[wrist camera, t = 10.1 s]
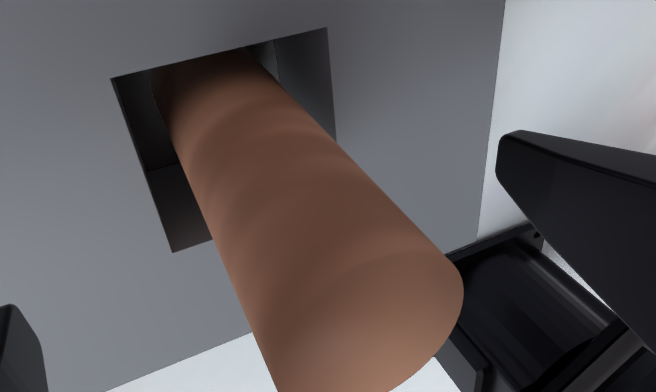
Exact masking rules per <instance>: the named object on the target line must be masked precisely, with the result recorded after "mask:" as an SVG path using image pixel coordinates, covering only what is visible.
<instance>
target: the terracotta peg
mask: <svg viewBox="0 0 656 392" xmlns="http://www.w3.org/2000/svg"><path fill="white" fill-rule="evenodd" d="M150 85H151V92H152V96H153V99H154V101H155V104H156V106H157V108H158V111H159V113H160V115H161V118H162V120H163V122H164V125H165V127H166V130H167V132H168V134H169V137H170V139H171V141H172V144H173V146H174V148H175V151H176V153H177V155H178V158H179V160H180V163H181V165H182V167H183V170H184V172H185V174H186V177H187V179H188V181H189V184H190V186H191V188H192V191H193V193H194V195H195V198H196V200H197V203H198V205H199V207H200V210H201V212H202V214H203V217H204V219H205V221H206V224H207V226H208V228H209V231H210V233H211V236H212V238H213V240H214V243H215V245H216V247H217V250H218V252H219V254H220V257H221V259H222V261H223V264H224V266H225V269H226V271H227V273H228V276H229V278H230V280H231V283H232V285H233V287H234V290H235V292H236V294H237V297H238V299H239V302H240V304H241V306H242V309H243V311H244V313H245V316H246V318H247V320H248V323H249V325H250V327H251V330H252V332H253V335H254V337H255V339H256V342H257V344H258V346H259V349H260V351H261V353H262V356H263V358H264V360H265V363H266V365H267V368H268V370H269V372H270V375H271V377H272V379H273V382H274V384H275V386H276V389H277V391H278V392H389V391H391V390H392V389H394V388H395V387H397V386H399V385H400V384H402V383H403V382H404V381H406V380H407V379H408V378H410V377H411V376H412V375H414V374H415V373H416V372H417V371H418V370H420V369H421V368H422V367H423V366H424V365H425V364H426V363H427V362H428V361H429V360H430V359H431V358H432V357H433V356H434V355H435V354H436V352H437V351H438V350H439V349H440V347H441V346H442V345H443V344H444V342H445V341H446V339H447V338H448V336H449V335H450V333H451V331H452V330H453V328H454V326H455V324H456V322H457V319H458V317H459V315H460V311H461V308H462V303H463V297H464V287H463V282H462V278H461V276H460V273H459V271H458V270H457V268H456V267H455V266H454V264H453V263H452V262H451V261H450V260H449V259H448V258H447V257H446V256H445V255H444V254H443V253H442V252H441V251H440V250H439V249H438V248H437V247H436V246H435V245H434V244H433V243H432V242H431V240H430V239H429V238H428V237H427V236H426V235H425V234H424V233H423V232H422V231H421V230H420V229H419V228H418V227H417V226H416V225H415V224H414V223H413V222H412V221H411V220H410V219H409V218H408V217H407V216H406V215H405V213H404V212H403V211H402V210H401V209H400V208H399V207H398V206H397V205H396V204H395V203H394V202H393V201H392V200H391V199H390V198H389V197H388V196H387V195H386V194H385V193H384V192H383V191H382V190H381V189H380V187H379V186H378V185H377V184H376V183H375V182H374V181H373V180H372V179H371V178H370V177H369V176H368V175H367V174H366V173H365V172H364V171H363V170H362V169H361V168H360V167H359V166H358V165H357V164H356V163H355V162H354V160H353V159H352V158H351V157H350V156H349V155H348V154H347V153H346V152H345V151H344V150H343V149H342V148H341V147H340V146H339V145H338V144H337V143H336V142H335V141H334V140H333V139H332V138H331V137H330V136H329V134H328V133H327V132H326V131H325V130H324V129H323V128H322V127H321V126H320V125H319V124H318V123H317V122H316V121H315V120H314V119H313V118H312V117H311V116H310V115H309V114H308V113H307V112H306V111H305V110H304V108H303V107H302V106H301V105H300V104H299V103H298V102H297V101H296V100H295V99H294V98H293V97H292V96H291V95H290V94H289V93H288V92H287V91H286V90H285V89H284V88H283V87H282V86H281V85H280V84H279V83H278V81H277V80H276V79H275V78H274V77H273V76H272V75H271V74H270V73H269V72H268V71H267V70H266V69H265V68H264V67H263V66H262V65H261V64H260V63H259V62H258V61H257V60H256V59H255V58H254V57H253V55H252V54H251V53H250V52H249V51H248V50H247V49H246V48H245V47H244V46H243V47H239V48H235V49H231V50H227V51H222V52H218V53H214V54H210V55H206V56H201V57H197V58H193V59H189V60H184V61H180V62H176V63H172V64H168V65H163V66H159V67H155V68H152V72H151V84H150Z"/></svg>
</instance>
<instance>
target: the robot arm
mask: <svg viewBox="0 0 656 392" xmlns="http://www.w3.org/2000/svg"><path fill="white" fill-rule="evenodd" d="M495 173H496V177H497V179H498V181H499V182H500V184H501V185H502V186H503V188H504V189H505V190H506V191H507V193H508V194H509V195H510V197H511V198H512V199H513V200H514V202H515V203H516V204H517V205H518V207H519V208H520V209H521V211H522V212H523V213H524V214H525V216H526V217H527V218H528V220H529V221H530V222H531V223H529V224H527V225H524V226H522V227H519V228H517V229H514V230H512V231H509V232H507V233H505V234H502V235H500V236H497V237H495V238H492V239H490V240H487V241H485V242H482V243H480V244H478V245H475V246H473V247H470V248H468V249H465V250H463V251H460V252H458V253H455V254H453V255H451V256H448V257H447V258H448V259H449V260H450V261H451V262H452V263H453V264H454V266H455V267H456V268H457V270H458V271H459V273H460V276H461V278H462V282H463V287H464V297H463V303H462V308H461V311H460V315H459V317H458V319H457V322H456V324H455V326H454V328H453V330H452V331H451V333H450V335H449V336H448V338H447V339H446V341H445V342H444V344H443V345H442V346H441V347H440V349H439V350H438V351H437V352H436V354H435V355H434V356H433V357H435V358H436V359H437V360H438V362H439V363H440V364H441V366H442V367H443V368H444V370H445V371H446V372H447V374H448V375H449V376H450V378H451V379H452V380H453V382H454V383H455V384H456V386H457V387H458V388H459V390H460V391H461V392H656V155H651V154H646V153H641V152H636V151H630V150H625V149H620V148H615V147H609V146H604V145H599V144H594V143H588V142H583V141H578V140H573V139H567V138H562V137H557V136H552V135H546V134H541V133H536V132H531V131H525V130H517V131H514V132H511V133H508V134H505V135H503V136H502V137H501V139H500V140H499V145H498V152H497V160H496V167H495ZM544 239H545V240H546V241H547V242H548V243H549V244H550V245H551V247H552V248H553V249H554V250H555V251H556V252H557V253H558V254H559V255H560V256H561V257H562V258H563V259H564V260H565V261H566V262H567V263H568V264H569V265H570V266H571V267H572V268H573V269H574V271H575V272H576V273H577V274H578V275H579V276H580V277H581V278H582V279H583V280H584V281H585V282H586V283H587V284H588V285H589V286H590V287H591V288H592V289H593V290H594V291H595V292H596V294H597V295H598V296H599V297H600V298H601V299H602V300H603V301H604V302H605V303H606V304H607V305H608V306H609V307H610V308H611V309H612V310H613V311H614V312H615V313H616V314H615V313H614V312H613V311H612V310H611V309H609V308H608V307H607V306H606V305H605V304H603V303H602V302H601V301H600V300H599V299H597V298H596V297H595V296H594V295H593V294H591V293H590V292H589V291H588V290H586V289H585V288H584V287H583V286H582V285H580V284H579V283H578V282H577V281H576V280H574V279H573V278H572V277H571V276H570V275H568V274H567V273H566V272H565V271H564V270H562V269H561V268H560V267H559V266H558V265H556V264H555V263H554V262H553V261H552V260H550V259H549V258H548V257H547V256H546V255H544V254H543V253H542V252H541V251H542V246H543V242H544ZM0 392H49V390H48V383H47V377H46V371H45V364H44V358H43V352H42V347H41V344H40V341H39V339H38V337H37V335H36V334H35V332H34V331H33V329H32V328H31V326H30V325H29V323H28V322H27V320H26V319H25V317H24V316H23V314H22V312H21V311H20V309H19V308H18V307H17V306H16V305H14V304H6V305H3V306H0Z"/></svg>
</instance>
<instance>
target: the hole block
mask: <svg viewBox="0 0 656 392" xmlns="http://www.w3.org/2000/svg"><path fill="white" fill-rule="evenodd" d="M505 1H506V0H0V306H3V305H6V304H14V305H16V306H17V307H18V308H19V309H20V311H21V312H22V314H23V316H24V317H25V319H26V320H27V322H28V323H29V325H30V326H31V328H32V329H33V331H34V332H35V334H36V335H37V337H38V339H39V341H40V344H41V347H42V352H43V358H44V364H45V371H46V377H47V383H48V390H49V392H105V391H108V390H110V389H113V388H115V387H118V386H120V385H123V384H125V383H128V382H130V381H133V380H135V379H138V378H140V377H142V376H145V375H147V374H150V373H152V372H155V371H157V370H160V369H162V368H165V367H167V366H170V365H172V364H175V363H177V362H179V361H182V360H184V359H187V358H189V357H192V356H194V355H197V354H199V353H202V352H204V351H207V350H209V349H212V348H214V347H216V346H219V345H221V344H224V343H226V342H229V341H231V340H234V339H236V338H239V337H241V336H244V335H246V334H249V333H251V332H252V330H251V327H250V325H249V323H248V320H247V318H246V316H245V313H244V311H243V309H242V306H241V304H240V302H239V299H238V297H237V294H236V292H235V290H234V287H233V285H232V283H231V280H230V278H229V276H228V273H227V271H226V269H225V266H224V264H223V261H222V259H221V257H220V254H219V252H218V250H217V247H216V245H215V243H214V240H213V238H212V236H211V233H210V231H209V228H208V226H207V224H206V221H205V219H204V217H203V214H202V212H201V210H200V207H199V205H198V203H197V200H196V198H195V195H194V193H193V191H192V188H191V186H190V184H189V181H188V179H187V177H186V174H185V172H184V170H183V167H182V165H181V163H177V164H174V165H170V166H167V167H164V168H160V169H157V170H153V171H150V172H146V169H145V166H144V163H143V160H142V158H141V155H140V152H139V149H138V146H137V143H136V141H135V138H134V135H133V132H132V129H131V126H130V124H129V121H128V118H127V115H126V112H125V109H124V107H123V104H122V101H121V98H120V95H119V92H118V90H117V87H116V84H115V81H114V78H113V77H117V76H121V75H125V74H130V73H134V72H138V71H142V70H146V69H151V68H155V67H159V66H163V65H168V64H172V63H176V62H180V61H184V60H189V59H193V58H197V57H201V56H206V55H210V54H214V53H218V52H222V51H227V50H231V49H235V48H239V47H243V46H248V45H252V44H256V43H260V42H265V41H269V40H273V39H274V43H275V50H276V57H277V64H278V71H279V77H280V84H281V86H282V87H283V88H284V89H285V90H286V91H287V92H288V93H289V94H290V95H291V96H292V97H293V98H294V99H295V100H296V101H297V102H298V103H299V104H300V105H301V106H302V107H303V108H304V110H305V111H306V112H307V113H308V114H309V115H310V116H311V117H312V118H313V119H314V120H315V121H316V122H317V123H318V124H319V125H320V126H321V127H322V128H323V129H324V130H325V131H326V132H327V133H328V134H329V136H330V137H331V138H332V139H333V140H334V141H335V142H336V143H337V144H338V145H339V146H340V147H341V148H342V149H343V150H344V151H345V152H346V153H347V154H348V155H349V156H350V157H351V158H352V159H353V160H354V162H355V163H356V164H357V165H358V166H359V167H360V168H361V169H362V170H363V171H364V172H365V173H366V174H367V175H368V176H369V177H370V178H371V179H372V180H373V181H374V182H375V183H376V184H377V185H378V186H379V187H380V189H381V190H382V191H383V192H384V193H385V194H386V195H387V196H388V197H389V198H390V199H391V200H392V201H393V202H394V203H395V204H396V205H397V206H398V207H399V208H400V209H401V210H402V211H403V212H404V213H405V215H406V216H407V217H408V218H409V219H410V220H411V221H412V222H413V223H414V224H415V225H416V226H417V227H418V228H419V229H420V230H421V231H422V232H423V233H424V234H425V235H426V236H427V237H428V238H429V239H430V240H431V242H432V243H433V244H434V245H435V246H436V247H437V248H438V249H439V250H440V251H441V252H442V253H443V254H446V253H448V252H451V251H453V250H456V249H458V248H461V247H463V246H466V245H468V244H471V243H473V242H475V241H477V233H478V224H479V216H480V208H481V199H482V191H483V183H484V175H485V166H486V158H487V150H488V141H489V133H490V125H491V117H492V108H493V100H494V92H495V83H496V75H497V67H498V59H499V50H500V42H501V34H502V25H503V17H504V9H505Z"/></svg>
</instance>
